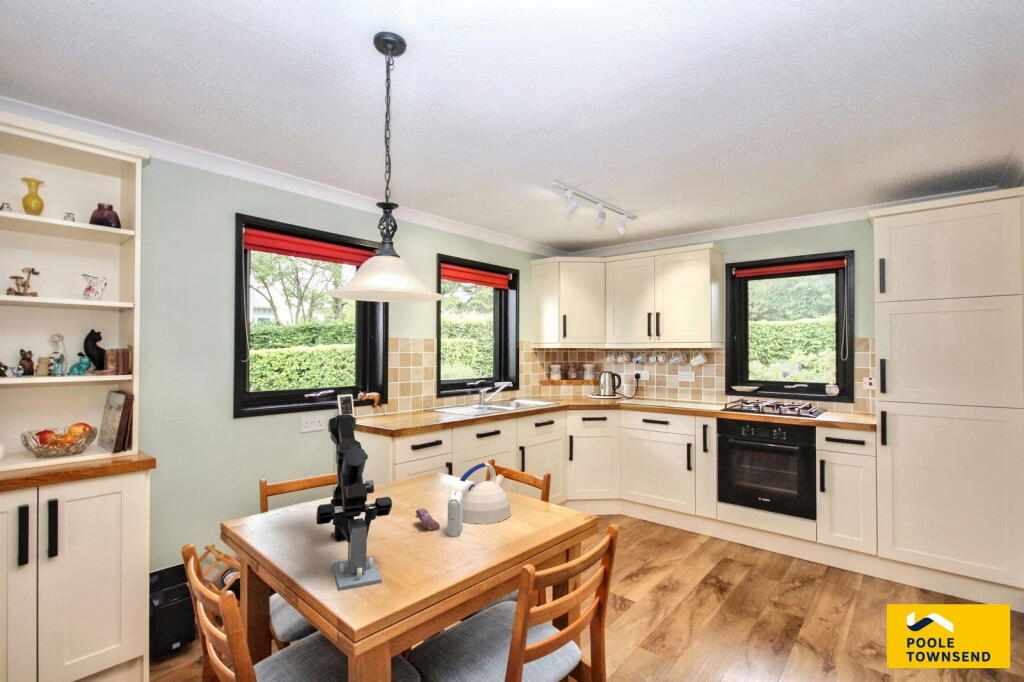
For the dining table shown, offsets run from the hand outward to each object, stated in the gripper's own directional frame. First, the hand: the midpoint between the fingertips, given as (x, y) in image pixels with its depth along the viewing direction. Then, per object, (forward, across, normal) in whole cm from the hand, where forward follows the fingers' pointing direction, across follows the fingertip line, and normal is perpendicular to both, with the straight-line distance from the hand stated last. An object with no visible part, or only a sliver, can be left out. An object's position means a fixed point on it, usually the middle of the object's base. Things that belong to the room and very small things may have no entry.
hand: (357, 541), depth 123 cm
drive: (+4, 0, +6) cm, 7 cm away
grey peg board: (+5, 0, +7) cm, 9 cm away
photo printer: (-7, +33, +20) cm, 39 cm away
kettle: (-15, +47, +28) cm, 57 cm away
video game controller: (-13, +26, +26) cm, 38 cm away
